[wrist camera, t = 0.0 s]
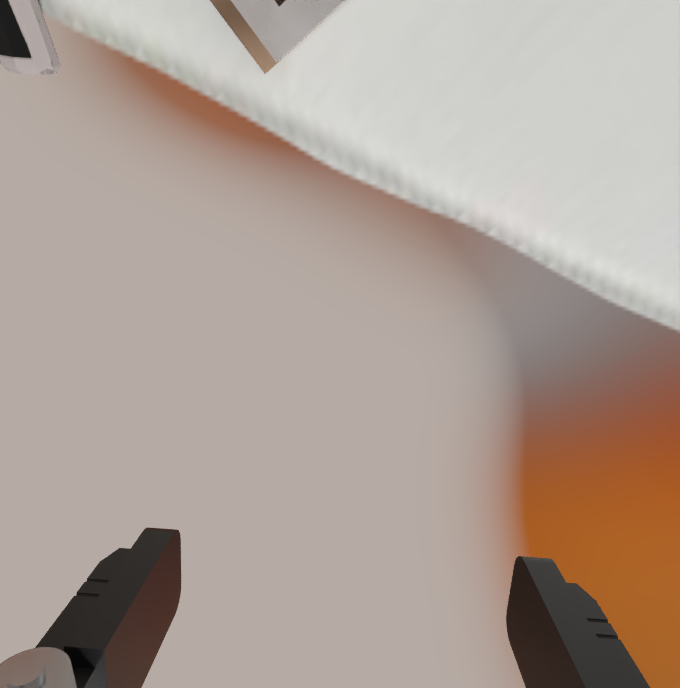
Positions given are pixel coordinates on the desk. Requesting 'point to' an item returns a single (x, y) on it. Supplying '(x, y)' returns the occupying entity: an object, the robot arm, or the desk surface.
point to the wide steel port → (284, 21)
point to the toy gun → (26, 39)
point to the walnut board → (246, 33)
